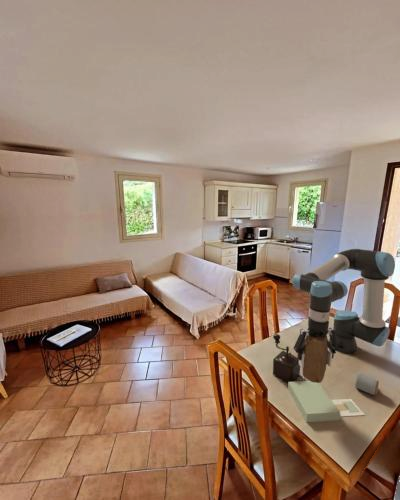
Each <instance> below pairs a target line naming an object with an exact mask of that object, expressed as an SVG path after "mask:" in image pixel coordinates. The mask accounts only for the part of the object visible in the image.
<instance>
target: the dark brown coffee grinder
mask: <svg viewBox="0 0 400 500" xmlns="http://www.w3.org/2000/svg"><path fill="white" fill-rule="evenodd" d="M272 338H273V340H274V343H275V347H276V348H277V349H279V350H282V351H281V352H280V353H278V354H277V355H275V357H274V358H273V361H272V362H273V363H272V366H273V367H272V375H273V376H274V377H276V378H278V379H279V380H280V381H283V382H284V383H287V384H288V382H297V381H298V378H299V377H300V376H301V374H300V373H301V366H300V365H299V359H298V357H297V356H295V355H294V354H292V352H289V351H290V348H289V347H290V346H288V345H287V346H286V348H283V347H280V346H279V344H280V343H281V341H280V340H281V335H280V334H278V333H274V334H273V336H272Z"/></svg>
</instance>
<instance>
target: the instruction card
mask: <svg viewBox="0 0 400 500" xmlns="http://www.w3.org/2000/svg"><path fill="white" fill-rule="evenodd" d="M331 400H332V402H333V403H334V404H335V406H336V407H337V408H338V410H339V411H340V417H342V418H344V417H358V416H365V413H364V412H363V410H361V409H360V408H359V406H357V404H356V403H355V402H354V401H353V400H352V398H343V399H342V398H339V399H331Z"/></svg>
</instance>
